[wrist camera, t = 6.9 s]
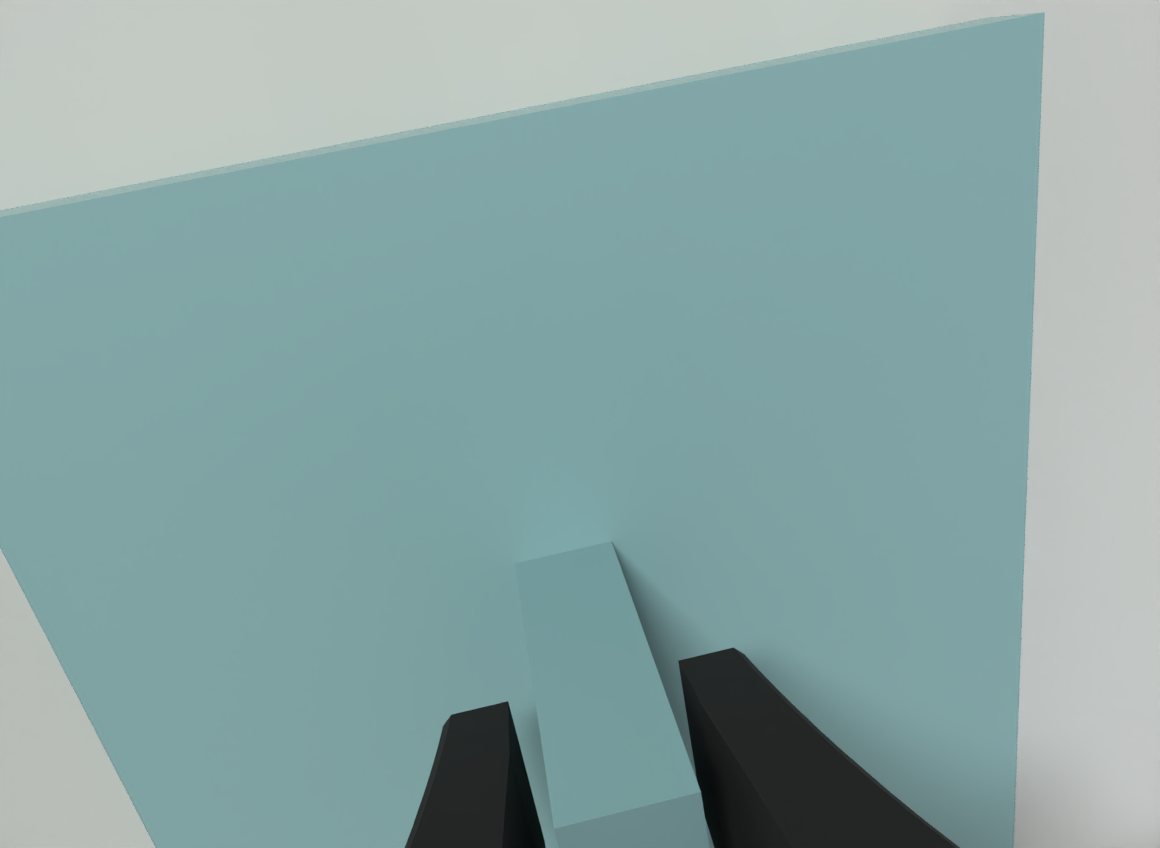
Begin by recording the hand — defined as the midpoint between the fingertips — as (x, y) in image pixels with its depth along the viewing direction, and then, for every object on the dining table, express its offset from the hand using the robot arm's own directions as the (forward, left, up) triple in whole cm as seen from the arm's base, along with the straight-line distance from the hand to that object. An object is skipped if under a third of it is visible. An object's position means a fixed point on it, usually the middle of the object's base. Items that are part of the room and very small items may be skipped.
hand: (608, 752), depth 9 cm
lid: (0, +1, -4) cm, 4 cm away
